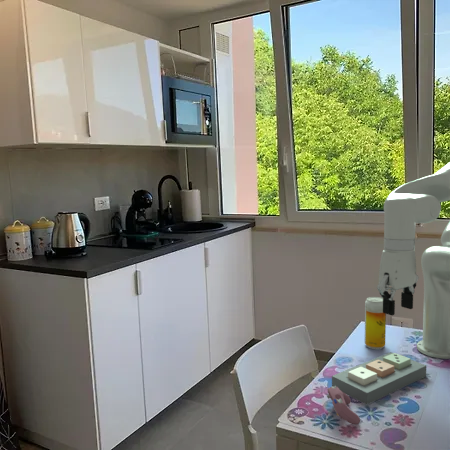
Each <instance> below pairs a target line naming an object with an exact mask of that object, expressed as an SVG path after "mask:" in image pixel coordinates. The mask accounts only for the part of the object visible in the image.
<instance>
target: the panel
mask: <svg viewBox="0 0 450 450" xmlns="http://www.w3.org/2000/svg"><path fill="white" fill-rule="evenodd" d="M393 353H394V352H388V353H385V354H382V355H380V356H378V357H375V358H373V359H370V360H368V361H366V362H363V363H360V364H358V365H356V366H353V367H350V368H348V369H346V370H343V371H341V372H338V373H335V374H334V375H332V376H331V387H335V385H336V387H338V388H339V389H340V390H341V391H342V392H344V393H345V394H346V395H348V396H349V397H351V398H352V399H355V400H357V401H359V402H360V403H362V404H365V405H367V406H368V405H370V404H372V403H374V402H376V401H378V400H380V399H382V398H384V397H386V396H389V395H390V394H393V393H394V392H396V391H399V390H400V389H403V388H405V387H408V385H412V384H414V383H415V382H417V381H420V380H421V379H423V378H425V377H427V365H426V364H423V363H421V362H419V361H415V360H413V359H411V365H409V366H407V367H405V368H403V369H401V370H398V369H396V368H394V373H392V374H389V375H387V376H385V377H383V378H382V377H380V376H377V380H376V381H374V382H372V383H369V384H367V385H365V386H363V385H361V384H359V383H357V382H355V381H353V380H351V379H348V372H349V371H351V370H354V369H356V368H359V367H363V368H366V364H368V363H371V362H373V361H376V360H381V361H383V357H385V356H388V355H390V354H393Z"/></svg>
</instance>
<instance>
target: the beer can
mask: <svg viewBox="0 0 450 450" xmlns="http://www.w3.org/2000/svg"><path fill="white" fill-rule="evenodd" d="M386 319H387V314H385V313H383V298H382V297H381V296H379V297H378V296H369V297H367V298H366V299H365V302H364V344H365V346H366V347H367V348H369V349H371V350H381V349H383V348H384V347H385V346H386V329H387V320H386Z"/></svg>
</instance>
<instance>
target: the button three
mask: <svg viewBox="0 0 450 450" xmlns="http://www.w3.org/2000/svg"><path fill="white" fill-rule="evenodd" d="M392 353H393V354H390V355H388V356H385V357H383V362H386V363H389V364H391V365H394V368H396V369H398V370H401V369H403V368H405V367H407V366H409V365H411V360H412V359H411V358H409V357H407V356H404V355H401V354H399V353H396V352H392Z"/></svg>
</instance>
